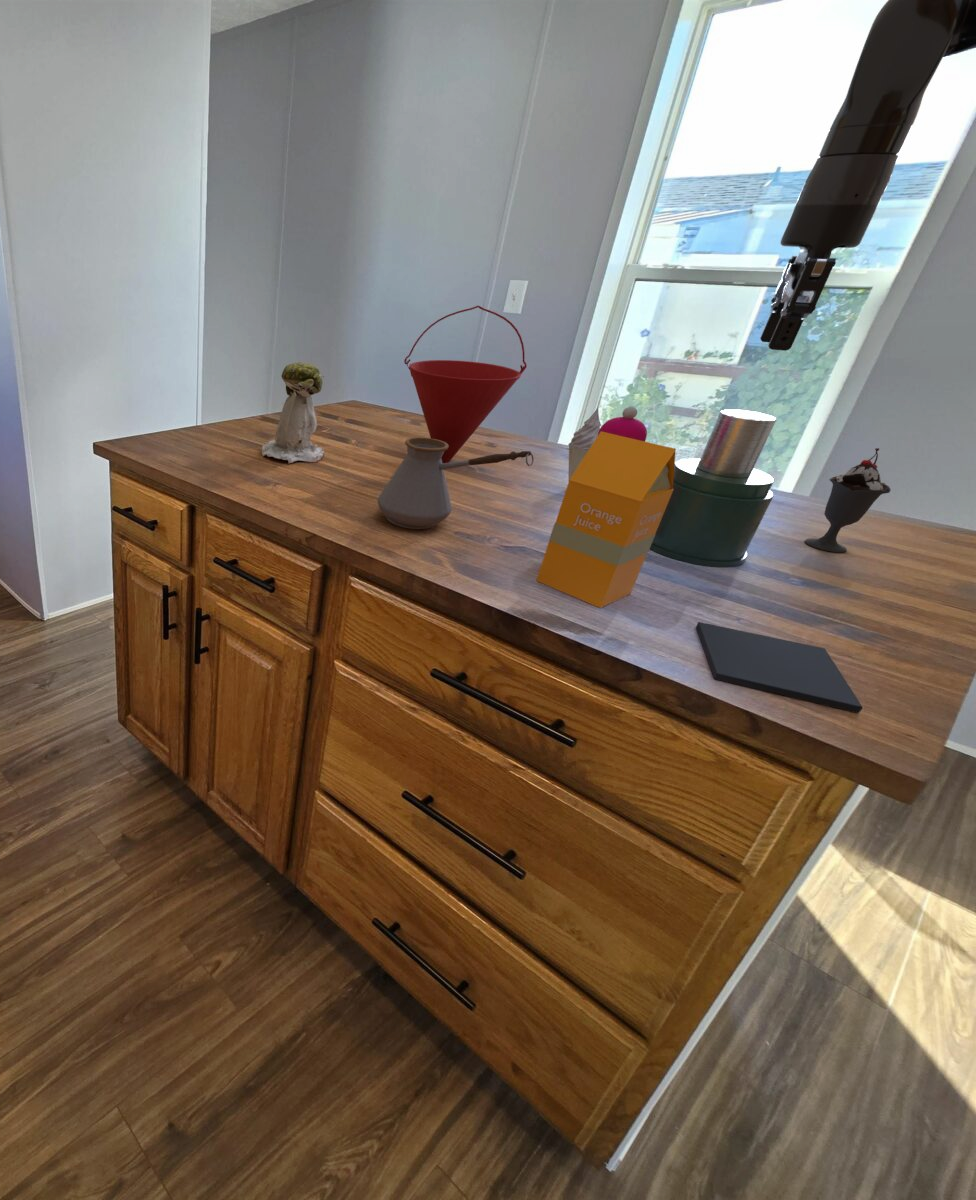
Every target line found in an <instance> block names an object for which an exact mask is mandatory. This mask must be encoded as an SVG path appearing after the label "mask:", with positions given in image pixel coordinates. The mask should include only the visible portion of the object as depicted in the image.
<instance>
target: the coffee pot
mask: <svg viewBox="0 0 976 1200" xmlns="http://www.w3.org/2000/svg"><path fill="white" fill-rule="evenodd" d="M404 444H405V446H406V452H407V453H406V455H405V457H404V458H403V460H402V461H401V463H400V464H399V466H398V467H397V468H396V470H395V472H394V473H393V474H392V476H391V477H390V480H388V482H387V483H386V485H385V486H384V488H383V490H382V491H381V492H380V494H379V496H378V498H377V505H378V508H379V511H380V512H381V513H382V514H383V515H384V516H385V518H386V520H387V521H388V522H389V523H391V524H393V525H395V526H397V527H400V528H404V529H411V530H427V529H431V528H433V527H434V526H436V525H438V524H440V523H441V522H443V521H445V520H446V519H447V518H448V517H449V515H450V514H451V513H452V508H453V506H452V502H451V498H450V497H451V496H450V492H449V488H448V483H447V478H446V474H445V470H448V469H455V468H460V467H466V466H477V465H479V466H480V465H489V464H498V463H500V462H501V463H502V462H504V461H509V460H512V461H515V460H516V459H518V458H522V459H523V458H525V463H526V465H527V466H528V467H532V465H534V459H535V458H534V455H533V453H532V452H531V450H521V451H520V452H516V451H514V450H513V451H511V452H510V453H494V454H489V455H485V456H479V457H474V458H471V459H466V460H460V461H459V460H457V461H450V462H449V463H442V459H441V457H442V455H443V453H444V451H445V450H447V449H448V447H449V445H448V444H447V443H445V442H443V441H440V440H436V439H431V437H411V438H407V439H405V441H404ZM529 456H531V463H529V461H528V457H529Z"/></svg>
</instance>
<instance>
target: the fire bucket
mask: <svg viewBox="0 0 976 1200" xmlns="http://www.w3.org/2000/svg"><path fill="white" fill-rule="evenodd" d="M475 309H480V310H482V311H484V312H487V313H489V314H492V315H495V316H497V317H498V318H500V319H502V320H504V321H505V322H506V323H508V324H509V325H510V326H511V327H512V328H513V330H514V331H515V333H516V335H517V336H518V338H519V342H520V344H521V351H522V363H523V365H522V364H519V365H520V370H519V371H518V370H516V369H513V368H510V367H507V366H502V365H498V364H494V363H493V364H491V363H487V362H479V361H467V360H454V359H435V360H434V359H431V360H420V361H414V362H412V363H410V362H411V359H410V357H411V355H412V353H413V351H414V349H415V347H416V346H417V344H418V343H419V341H420V340H421V338H422V337H423V336H424V335H425V333H427V332H428V330H430V329H431V328H432V327H433V326H435V325H436V324H437V323H439V322H441V321H442V320H445V319H447V318H449V317H451V316H454V315H457V314H460V313H464V312H467V311H472V310H475ZM525 356H526V355H525V345H524V342H523V339H522V336H521V334H520V332H519V330H518V328H517V327H516V326H515V325H514V323H512V322H511V321H510V320H509V319H507V318H506V317H505V316H503V315H501V314H499V313H497V312H495V311H492V310H489V309H487V308H484V307H482V306H481V305H476V306H473V307H470V308H465V309H461V310H458V311H455V312H452V313H449V314H447V315H445V316H443V317H441V318H439V319H437V320H436V321H434V322H433V323H431V324H430V325H429V326H428V327H427V328H426V329H425V330H424V331H423V332H422V333H421V334H420V335H419V337H418V338H417V339H416V341H415V342H414V344H413V346H412V348H411V349H410V351H409V354H408V355H407V356H406V357H405V358H404V361H403V362H404V365H406V366H407V368H408V370H409V373H410V377H412V380H413V384H414V387H415V390H416V393H417V397H418V399H419V403H420V407H421V410H422V413H423V417H424V421H425V424H426V427H427V430H428V434H429V438H431V439H436V440H440V441H443V442H445V443H447V444H448V445H449V447H448V449H447V450H445V451H444V453H443V455H442V457H441V459H442V463H450V462H451V460H452V459H453V458H454V457H455V456H456V455H457V454H458V452H459V451H460V450H461V448H462V447H463V446H464V445H465V444H466V442H467V441H468V440H469V439H470V438H471V436H473V434H474V433H475V431H476V430H477V429H479V427H480V426H481V424H482V423H483V422H484V421H485V420H486V419H487V417H488V416H489V414H491V412H492V411H493V410H494V409H495V407H497V406H498V404H499V402H500V401H502V399H503V398H504V397H505V395H506V394H507V393H508V392H509V391H510V390H511V388H512V387H513V386H514V385H515V383H516V382H518V380H519V379H520V378H521V377H522V374H523V373H524V372H525V370H526V369H527V366H528V365H527V363H526V360H525V358H526V357H525ZM408 358H409V359H408ZM409 363H410V364H409ZM408 364H409V365H408Z"/></svg>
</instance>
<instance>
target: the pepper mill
mask: <svg viewBox="0 0 976 1200" xmlns="http://www.w3.org/2000/svg"><path fill="white" fill-rule="evenodd" d="M637 415H638V409H637V408H636V407H635V406H627V407H625V408H624V409H623V411H622V416H617V417H612V418H610V419H609V420H607V421H605V422H604V423H603V424H601V426H600V430H599V432H598V435H599V434H600V432H606V433H610V434H614V435H619V436H623V437H627V438H631V439H636V440H640V441H644V442H646V440H647V436H648V431H647V426H646V425H645V424H644V423H643V422H642V421H641V420H639V419H638V418H636V417H637ZM597 437H598V436H597Z"/></svg>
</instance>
